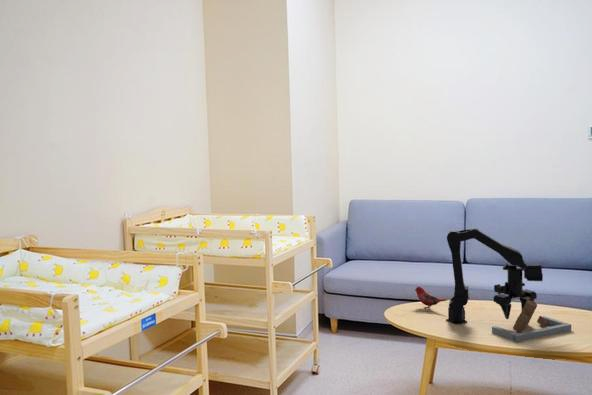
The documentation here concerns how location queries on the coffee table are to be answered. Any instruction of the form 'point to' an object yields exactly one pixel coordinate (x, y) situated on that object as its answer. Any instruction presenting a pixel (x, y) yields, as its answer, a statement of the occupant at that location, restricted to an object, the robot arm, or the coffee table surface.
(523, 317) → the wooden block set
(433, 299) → the decorative bird figurine
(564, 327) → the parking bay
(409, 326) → the coffee table surface
